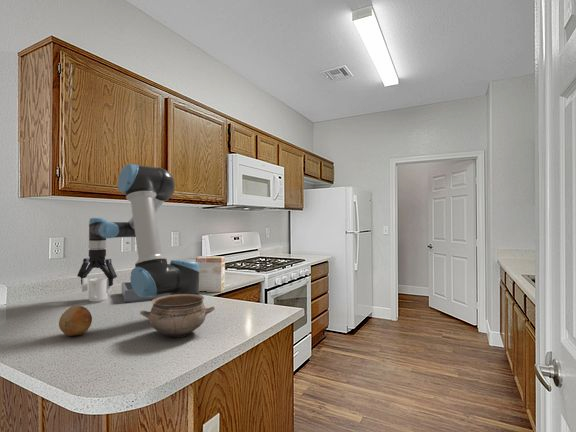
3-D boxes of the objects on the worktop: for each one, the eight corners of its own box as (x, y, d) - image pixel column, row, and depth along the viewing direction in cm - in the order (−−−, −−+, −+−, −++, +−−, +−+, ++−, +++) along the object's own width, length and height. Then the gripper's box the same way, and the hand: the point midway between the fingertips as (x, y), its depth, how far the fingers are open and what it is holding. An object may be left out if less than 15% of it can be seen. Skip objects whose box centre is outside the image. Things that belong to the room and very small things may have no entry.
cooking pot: (214, 323, 131) (214, 292, 131) (215, 340, 113) (215, 303, 113) (144, 328, 125) (145, 295, 125) (134, 347, 107) (134, 308, 107)
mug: (100, 303, 162) (101, 281, 163) (82, 303, 161) (82, 282, 161) (110, 297, 174) (110, 277, 174) (93, 298, 173) (93, 278, 173)
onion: (53, 341, 111) (54, 310, 111) (64, 332, 121) (65, 303, 121) (86, 339, 114) (87, 309, 114) (95, 329, 123) (95, 302, 123)
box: (125, 303, 163) (125, 290, 163) (121, 293, 184) (121, 282, 184) (177, 297, 175) (177, 286, 175) (168, 289, 196) (168, 279, 196)
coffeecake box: (224, 290, 196) (225, 256, 196) (221, 292, 189) (221, 257, 189) (199, 289, 197) (200, 255, 198) (195, 291, 190) (195, 257, 191)
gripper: (125, 249, 170) (124, 291, 169) (81, 247, 174) (80, 289, 174) (114, 250, 162) (113, 294, 162) (69, 248, 167) (68, 292, 166)
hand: (96, 291), depth 168 cm, fingers open, 13 cm apart
